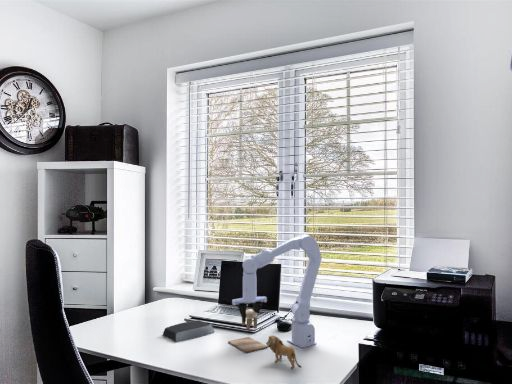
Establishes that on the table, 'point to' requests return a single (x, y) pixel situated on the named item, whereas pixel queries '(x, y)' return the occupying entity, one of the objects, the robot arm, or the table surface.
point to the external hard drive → (188, 331)
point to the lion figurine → (282, 350)
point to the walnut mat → (247, 344)
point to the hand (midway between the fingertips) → (249, 321)
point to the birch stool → (250, 315)
